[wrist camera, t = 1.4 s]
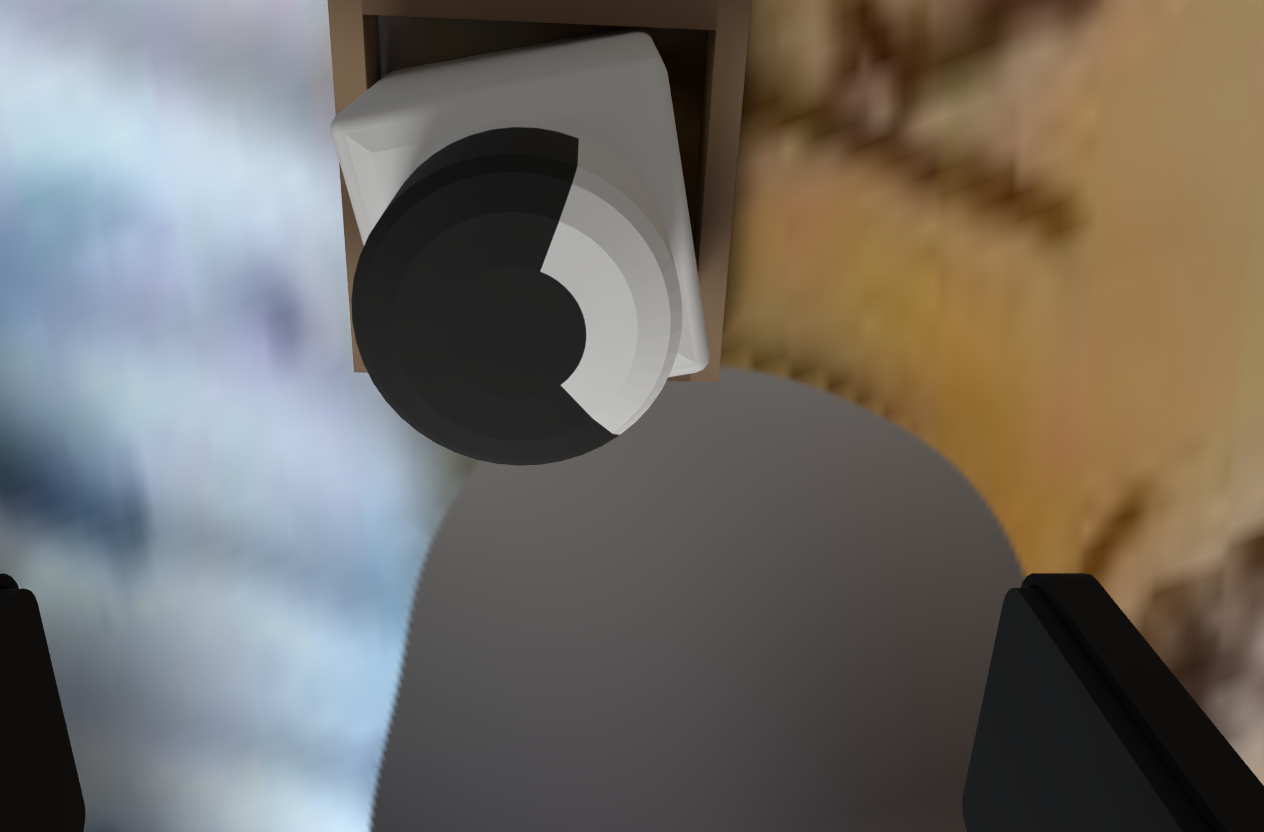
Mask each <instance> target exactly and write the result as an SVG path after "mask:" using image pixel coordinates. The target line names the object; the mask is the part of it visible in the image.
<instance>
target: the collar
mask: <svg viewBox="0 0 1264 832" xmlns="http://www.w3.org/2000/svg"><path fill="white" fill-rule="evenodd" d="M328 10H329V24H330V38H331V52H332V67H333V81H334V95H335V109H336V115H337V114H339V113H340V112H341V111H342V110H344V109H345V108H346V107H347V106H348V105H350V104H351V103H352V102H353V101H355V100H356V99H357V98H358V97H360V96H361V95H362V94H363V93H364V92H366V91H367V90H368V89H369V88H371V87H372V86H373V85H374V84H375V83H377V82H378V81H379V80H380V79H381V73H380V54H379V35H378V16H377V15H384V16H407V17H429V18H452V19H474V20H497V21H519V22H542V23H564V24H587V25H609V26H632V27H654V28H677V29H699V30H708V31H707V45H706V59H705V73H704V87H703V101H702V115H701V129H700V143H699V157H698V171H697V185H696V199H695V213H694V227H693V245H694V252H695V258H696V265H697V272H698V278H699V285H700V292H701V298H702V305H703V312H704V318H705V325H706V331H707V338H708V345H709V351H710V357H709V362H708V364H707V366H706V367H705V368H704V369H703V370H701V371H699V372H697V373H691V374H685V375H679V376H673V377H668V379H667V381H699V382H701V381H702V382H718V379H719V367H720V356H721V344H722V333H723V321H724V310H725V298H726V287H727V275H728V264H729V252H730V240H731V229H732V217H733V206H734V194H735V183H736V171H737V160H738V148H739V137H740V125H741V114H742V102H743V91H744V79H745V68H746V56H747V45H748V33H749V22H750V10H751V0H328ZM339 165H340V162H339ZM340 179H341V193H342V208H343V222H344V236H345V250H346V264H347V278H348V292H349V306H350V320H351V334H352V349H353V363H354V372H367V373H368V371H367V369H366V368H365V366H364V364H363V361H362V358H361V355H360V352H359V349H358V346H357V343H356V339H355V333H354V328H353V323H352V303H351V298H352V289H353V280H354V275H355V271H356V267H357V264H358V260H359V256H360V254H361V252H362V249H363V247H364V245H363V242H362V238H361V235H360V231H359V228H358V224H357V221H356V217H355V214H354V211H353V207H352V204H351V200H350V197H349V193H348V190H347V186H346V183H345V179H344V176H343V172H342V169H341V165H340Z"/></svg>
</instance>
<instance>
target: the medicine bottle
mask: <svg viewBox="0 0 1264 832" xmlns="http://www.w3.org/2000/svg"><path fill="white" fill-rule="evenodd" d="M331 134H332V138H333V141H334V145H335V148H336V152H337V155H338V159H339V162H340V165H341V169H342V172H343V176H344V179H345V183H346V186H347V190H348V193H349V197H350V200H351V204H352V207H353V211H354V214H355V217H356V221H357V224H358V228H359V231H360V235H361V238H362V242H363V245H364V247H363V249H362V252H361V254H360V256H359V260H358V264H357V267H356V271H355V275H354V280H353V289H352V298H351V303H352V323H353V328H354V333H355V339H356V343H357V346H358V349H359V352H360V355H361V358H362V361H363V364H364V366H365V368H366V369H367V371H368V373H369V375H370V377H371V379H372V381H373V383H374V385H375V386H376V387H377V389H378V390H379V392H380V393H381V395H382V396H383V397H384V399H385V400H386V402H387V403H388V404H389V405H390V406H391V407H392V408H393V409H394V410H395V411H396V412H397V414H398V415H399V416H400V417H401V418H402V419H404V420H405V421H406V422H407V423H408V424H410V425H411V426H412V427H413V428H414V429H416V430H417V431H418V432H420V433H421V434H423V435H424V436H426V437H427V438H429V439H430V440H432V441H434V442H435V443H437V444H439V445H441V446H443V447H445V448H447V449H450V450H452V451H454V452H456V453H459V454H462V455H465V456H468V457H471V458H474V459H477V460H482V461H487V462H492V463H497V464H509V465H540V464H547V463H552V462H558V461H563V460H567V459H570V458H573V457H576V456H580V455H583V454H585V453H587V452H589V451H592V450H594V449H596V448H598V447H601V446H603V445H604V444H606V443H607V442H609V441H611V440H612V439H614V438H616V437H617V436H619V435H620V434H621V433H623V432H624V431H625V430H626V429H627V428H629V427H630V426H631V425H632V424H634V423H635V422H636V421H637V420H638V419H639V418H640V417H641V416H642V415H643V414H644V412H645V411H646V410H647V409H648V408H649V407H650V406H651V404H652V403H653V402H654V400H655V399H656V397H657V396H658V394H659V393H660V391H661V390H662V388H663V386H664V384H665V383H666V381H667V379H668V377H673V376H679V375H685V374H691V373H697V372H699V371H701V370H703V369H704V368H705V367H706V366H707V364H708V362H709V357H710V351H709V345H708V338H707V331H706V325H705V318H704V312H703V305H702V298H701V292H700V285H699V278H698V272H697V265H696V258H695V252H694V245H693V238H692V232H691V225H690V218H689V212H688V205H687V198H686V192H685V185H684V178H683V172H682V165H681V158H680V152H679V145H678V139H677V132H676V125H675V119H674V112H673V105H672V99H671V92H670V85H669V79H668V72H667V70H666V67H665V65H664V63H663V61H662V58H661V56H660V54H659V52H658V50H657V48H656V46H655V44H654V42H653V40H652V38H651V36H650V34H649V32H648V31H647V30H646V29H645V28H643V27H632V26H631V27H626V28H620V29H615V30H610V31H604V32H599V33H593V34H588V35H582V36H577V37H572V38H566V39H561V40H555V41H550V42H545V43H539V44H534V45H528V46H523V47H518V48H512V49H507V50H501V51H496V52H490V53H485V54H480V55H474V56H469V57H463V58H458V59H453V60H447V61H442V62H436V63H431V64H426V65H420V66H415V67H409V68H404V69H399V70H394V71H392V72H390V73H388V74H387V75H385V76H384V77H383V78H382V79H380V80H379V81H378V82H377V83H375V84H374V85H373V86H372V87H371V88H369V89H368V90H367V91H366V92H364V93H363V94H362V95H361V96H360V97H358V98H357V99H356V100H355V101H353V102H352V103H351V104H350V105H348V106H347V107H346V108H345V109H344V110H342V111H341V112H340V113H339V114H337V115H336V116H335V118H334V120H333V121H332V123H331Z"/></svg>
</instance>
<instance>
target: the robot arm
mask: <svg viewBox="0 0 1264 832" xmlns="http://www.w3.org/2000/svg"><path fill="white" fill-rule="evenodd" d="M963 816H964V822H965V826H966V830H967V832H1264V786H1263V785H1262V783H1261V782H1260V781H1259V780H1258V778H1257V777H1256V776H1255V775H1254V773H1253V772H1252V771H1251V770H1250V769H1249V767H1248V766H1247V765H1246V764H1245V762H1244V761H1243V760H1242V759H1241V757H1240V756H1239V755H1238V754H1237V752H1236V751H1235V750H1234V749H1233V748H1232V746H1231V745H1230V744H1229V743H1228V741H1227V740H1226V739H1225V738H1224V736H1223V735H1222V734H1221V733H1220V731H1219V730H1218V729H1217V728H1216V727H1215V725H1214V724H1213V723H1212V722H1211V720H1210V719H1209V718H1208V717H1207V715H1206V714H1205V713H1204V712H1203V710H1202V709H1201V708H1200V707H1199V706H1198V704H1197V703H1196V702H1195V701H1194V699H1193V698H1192V697H1191V696H1190V694H1189V693H1188V692H1187V691H1186V689H1185V688H1184V687H1183V686H1182V685H1181V683H1180V682H1179V681H1178V680H1177V678H1176V677H1175V676H1174V675H1173V673H1172V672H1171V671H1170V670H1169V668H1168V667H1167V666H1166V665H1165V663H1164V662H1163V661H1162V660H1161V659H1160V657H1159V656H1158V655H1157V654H1156V652H1155V651H1154V650H1153V649H1152V647H1151V646H1150V645H1149V644H1148V642H1147V641H1146V640H1145V639H1144V638H1143V636H1142V635H1141V634H1140V633H1139V631H1138V630H1137V629H1136V628H1135V626H1134V625H1133V624H1132V623H1131V621H1130V620H1129V619H1128V618H1127V617H1126V615H1125V614H1124V613H1123V612H1122V610H1121V609H1120V608H1119V607H1118V605H1117V604H1116V603H1115V602H1114V600H1113V599H1112V598H1111V597H1110V596H1109V594H1108V593H1107V592H1106V591H1105V589H1104V588H1103V587H1102V586H1101V584H1100V583H1099V582H1098V581H1097V580H1096V579H1095V578H1094V577H1093V576H1092V575H1089V574H1085V573H1032V574H1030V575H1028V576H1027V577H1026V578H1025V580H1024V581H1023V583H1022V586H1021V588H1012V589H1010V590H1009V591H1008V592H1007V594H1006V596H1005V599H1004V602H1003V606H1002V611H1001V616H1000V620H999V625H998V630H997V635H996V640H995V645H994V649H993V654H992V659H991V663H990V668H989V673H988V678H987V682H986V687H985V693H984V697H983V702H982V706H981V711H980V716H979V721H978V726H977V730H976V735H975V740H974V745H973V750H972V754H971V759H970V764H969V769H968V774H967V778H966V783H965V788H964V793H963ZM84 824H85V805H84V800H83V796H82V791H81V787H80V783H79V778H78V774H77V770H76V766H75V761H74V757H73V753H72V748H71V744H70V740H69V736H68V731H67V727H66V723H65V719H64V714H63V710H62V706H61V701H60V697H59V693H58V689H57V684H56V680H55V676H54V671H53V667H52V663H51V659H50V654H49V650H48V646H47V641H46V637H45V633H44V629H43V624H42V620H41V616H40V611H39V607H38V603H37V600H36V598H35V596H34V594H33V593H32V592H31V591H30V590H27V589H19V588H18V585H17V583H16V582H15V580H14V579H13V578H12V577H11V576H9V575H7V574H0V832H83V830H84Z"/></svg>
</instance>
